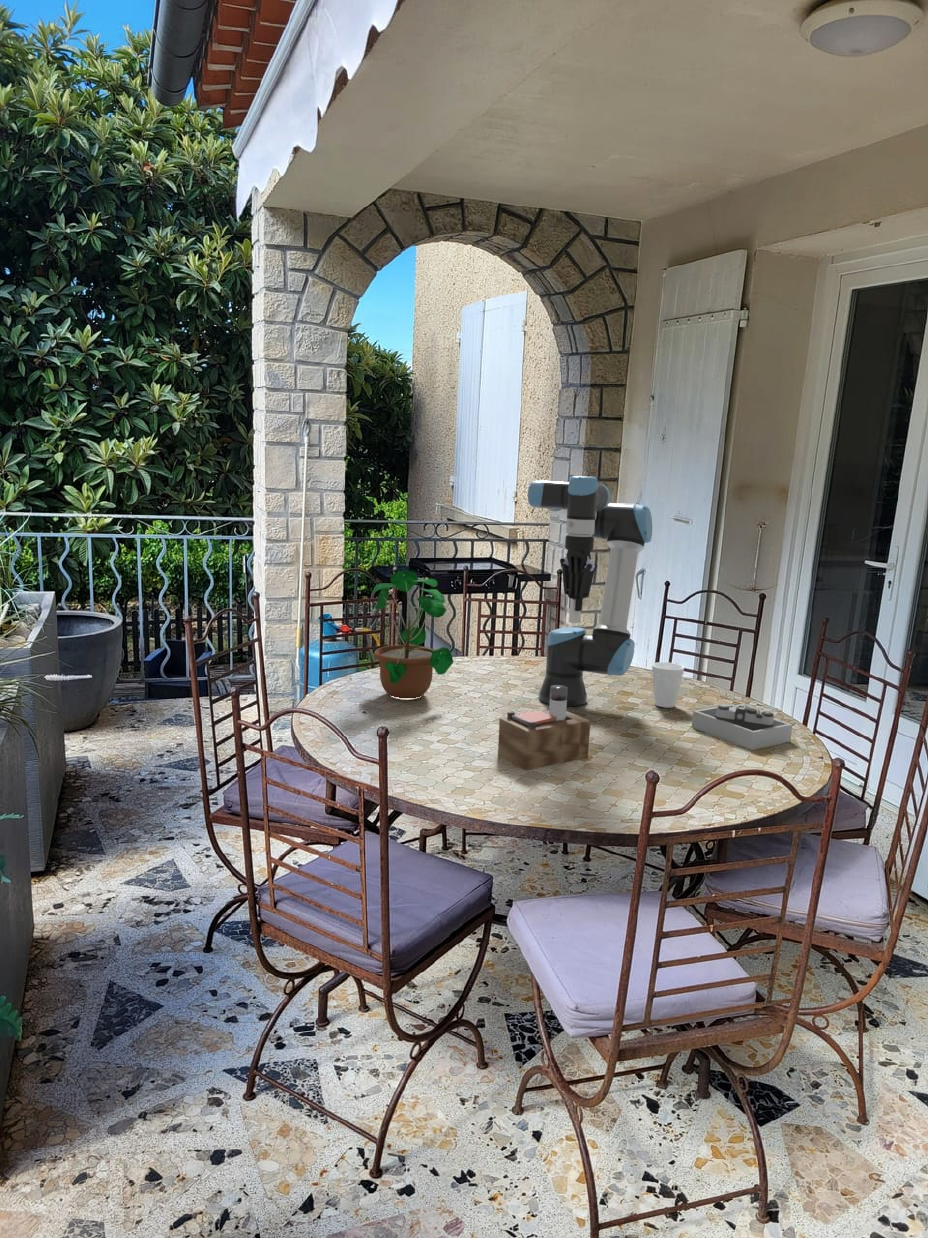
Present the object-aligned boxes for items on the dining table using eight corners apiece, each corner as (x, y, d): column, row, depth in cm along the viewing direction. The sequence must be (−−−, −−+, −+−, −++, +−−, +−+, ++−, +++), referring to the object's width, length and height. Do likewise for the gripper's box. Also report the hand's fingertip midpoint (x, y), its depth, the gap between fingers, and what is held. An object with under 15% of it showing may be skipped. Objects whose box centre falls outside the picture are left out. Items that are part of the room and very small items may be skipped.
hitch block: (559, 744, 237) (561, 702, 234) (587, 758, 227) (590, 714, 225) (497, 755, 226) (499, 712, 224) (525, 770, 216) (527, 725, 214)
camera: (773, 737, 251) (777, 704, 249) (769, 747, 242) (773, 713, 240) (717, 728, 258) (721, 695, 256) (711, 738, 249) (715, 704, 247)
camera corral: (729, 720, 265) (730, 704, 264) (790, 741, 246) (792, 724, 245) (691, 727, 256) (693, 710, 255) (752, 750, 238) (753, 732, 237)
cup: (646, 707, 275) (649, 667, 272) (651, 699, 284) (654, 660, 281) (678, 712, 271) (682, 671, 269) (683, 704, 280) (686, 664, 278)
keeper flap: (538, 712, 228) (538, 709, 227) (555, 720, 222) (555, 716, 221) (511, 719, 223) (511, 715, 223) (528, 727, 217) (528, 723, 217)
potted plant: (426, 715, 258) (430, 582, 251) (349, 698, 273) (351, 572, 266) (480, 693, 284) (485, 572, 277) (407, 678, 299) (410, 563, 291)
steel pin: (556, 743, 231) (560, 684, 228) (567, 748, 228) (571, 688, 225) (543, 745, 229) (546, 686, 226) (554, 750, 225) (557, 690, 222)
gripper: (553, 532, 236) (548, 619, 241) (584, 537, 225) (579, 627, 230) (575, 532, 240) (570, 617, 244) (607, 537, 229) (601, 625, 234)
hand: (574, 622), depth 237 cm, fingers closed
